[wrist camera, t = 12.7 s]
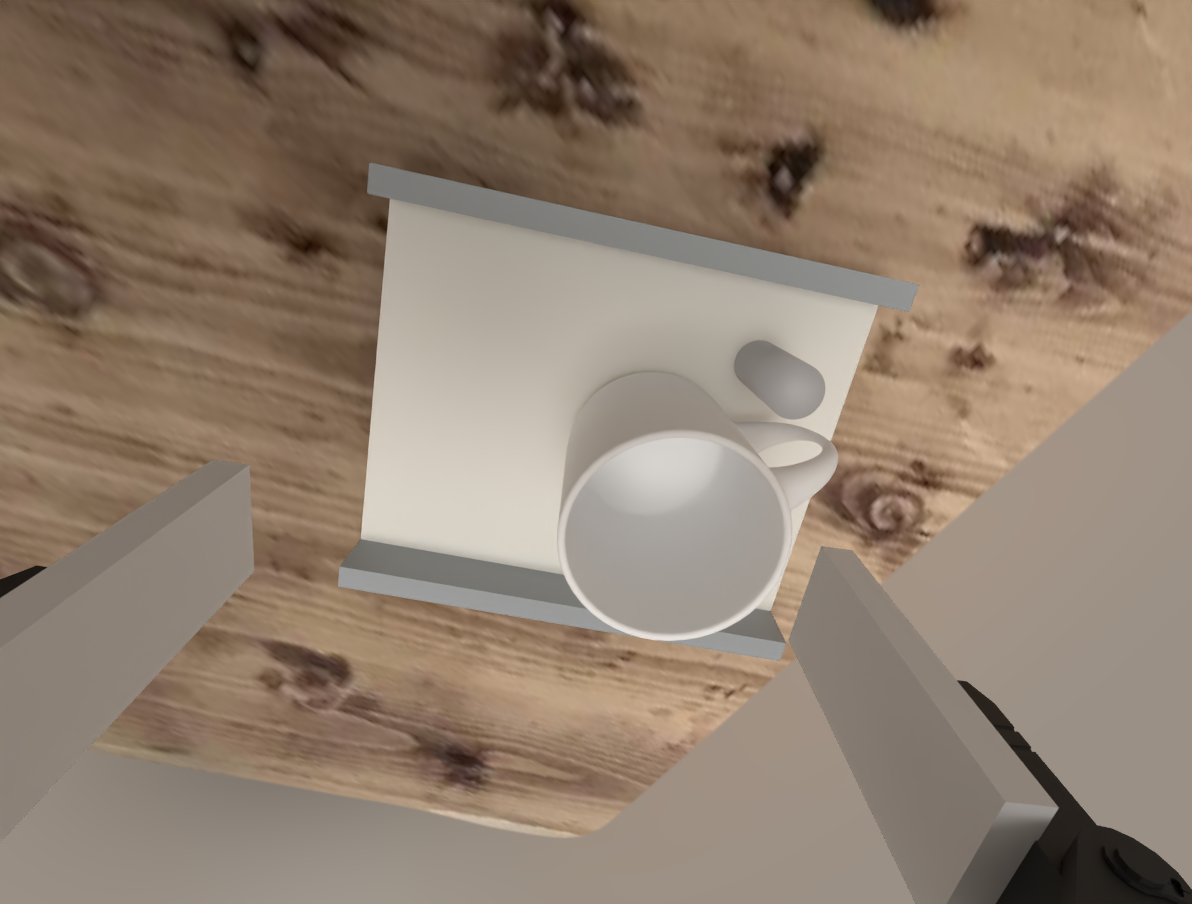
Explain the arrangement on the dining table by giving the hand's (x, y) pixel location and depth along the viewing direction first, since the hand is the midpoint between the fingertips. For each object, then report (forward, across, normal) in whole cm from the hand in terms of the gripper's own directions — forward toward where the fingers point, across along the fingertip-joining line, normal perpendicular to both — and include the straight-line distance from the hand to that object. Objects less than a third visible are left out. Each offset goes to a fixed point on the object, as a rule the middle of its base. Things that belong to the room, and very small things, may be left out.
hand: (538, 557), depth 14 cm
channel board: (+19, +2, -3) cm, 19 cm away
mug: (+18, +7, -3) cm, 19 cm away
